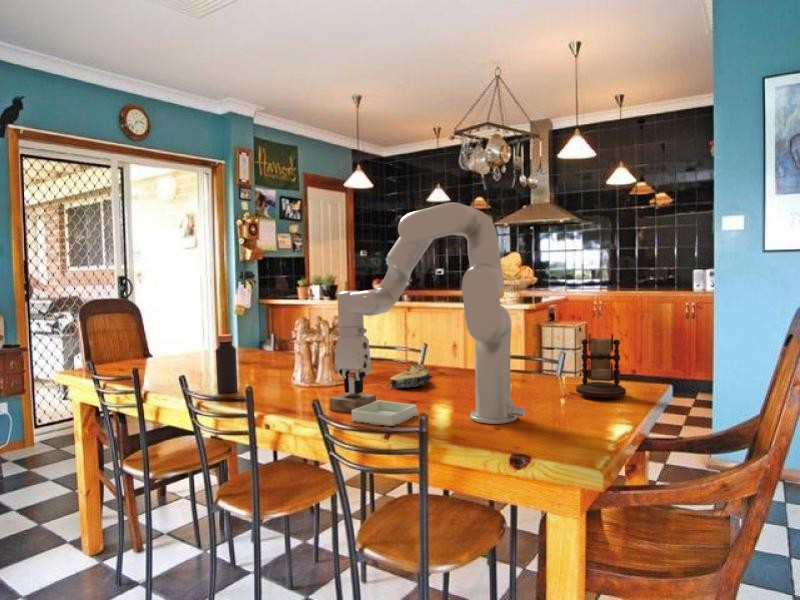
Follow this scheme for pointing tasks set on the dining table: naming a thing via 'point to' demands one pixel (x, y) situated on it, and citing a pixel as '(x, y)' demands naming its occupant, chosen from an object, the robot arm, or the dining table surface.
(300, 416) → the dining table surface
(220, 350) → the bottle
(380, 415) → the tray
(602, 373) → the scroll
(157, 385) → the dining table surface
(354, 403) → the block
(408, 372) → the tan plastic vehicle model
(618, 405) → the dining table surface
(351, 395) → the pin
